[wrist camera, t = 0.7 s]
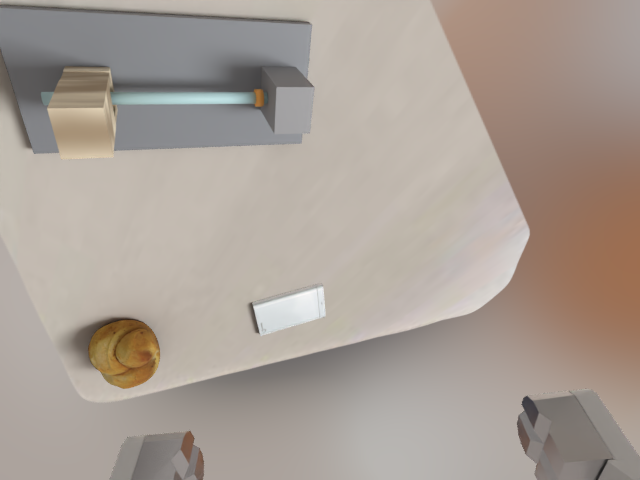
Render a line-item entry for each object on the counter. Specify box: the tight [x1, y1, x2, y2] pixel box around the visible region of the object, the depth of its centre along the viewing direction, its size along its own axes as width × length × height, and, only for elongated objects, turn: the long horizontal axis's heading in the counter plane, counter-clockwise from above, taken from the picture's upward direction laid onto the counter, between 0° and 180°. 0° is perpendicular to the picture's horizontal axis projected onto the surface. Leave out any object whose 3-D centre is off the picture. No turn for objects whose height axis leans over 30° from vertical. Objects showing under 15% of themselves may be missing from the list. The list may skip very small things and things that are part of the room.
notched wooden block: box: [47, 66, 118, 159], centre depth 39 cm, size 4×4×11 cm
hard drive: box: [252, 283, 325, 336], centre depth 75 cm, size 2×8×12 cm
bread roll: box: [88, 320, 160, 389], centre depth 65 cm, size 13×10×8 cm
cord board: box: [0, 5, 314, 154], centre depth 44 cm, size 14×30×8 cm, turn 84°
